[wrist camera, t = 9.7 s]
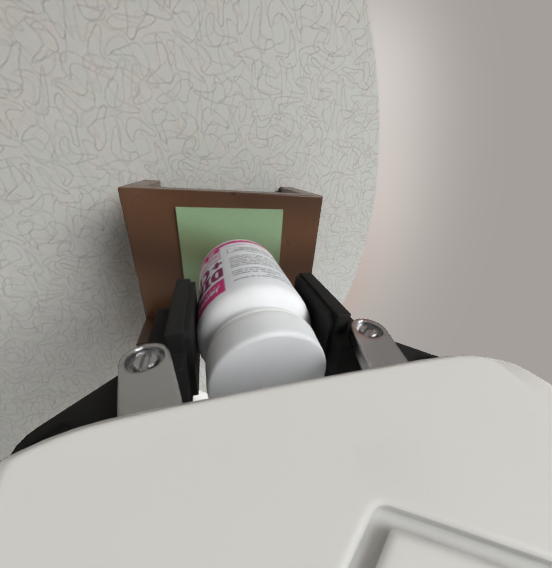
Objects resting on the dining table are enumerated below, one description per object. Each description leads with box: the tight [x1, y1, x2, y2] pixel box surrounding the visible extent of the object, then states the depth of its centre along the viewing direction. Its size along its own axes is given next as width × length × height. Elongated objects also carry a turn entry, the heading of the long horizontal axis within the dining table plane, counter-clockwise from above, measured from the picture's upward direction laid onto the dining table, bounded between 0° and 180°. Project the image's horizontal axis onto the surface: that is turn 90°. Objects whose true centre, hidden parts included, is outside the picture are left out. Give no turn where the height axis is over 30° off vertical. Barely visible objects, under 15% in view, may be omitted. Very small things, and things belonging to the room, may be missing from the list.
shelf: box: [118, 180, 323, 346], centre depth 19 cm, size 10×13×10 cm
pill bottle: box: [196, 239, 326, 398], centre depth 11 cm, size 5×5×8 cm
